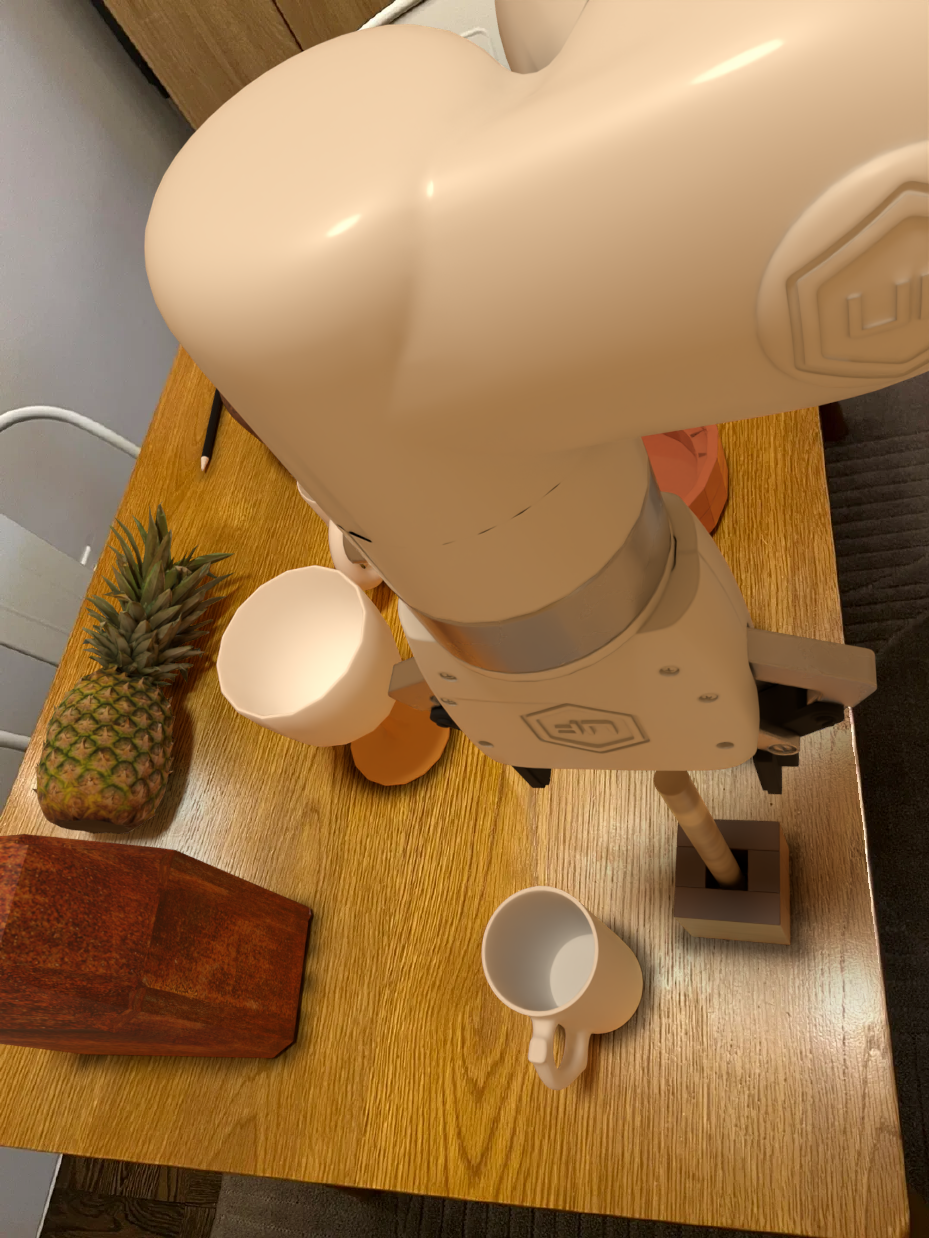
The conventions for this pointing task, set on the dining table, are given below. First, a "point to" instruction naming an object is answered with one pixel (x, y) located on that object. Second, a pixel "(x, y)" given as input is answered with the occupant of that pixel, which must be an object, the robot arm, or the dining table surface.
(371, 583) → the mug
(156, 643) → the fruit
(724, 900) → the holder
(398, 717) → the cup
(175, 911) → the wooden coffin
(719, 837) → the stick
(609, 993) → the mug
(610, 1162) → the dining table surface
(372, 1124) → the dining table surface
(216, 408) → the black pencil
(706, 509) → the bowl
